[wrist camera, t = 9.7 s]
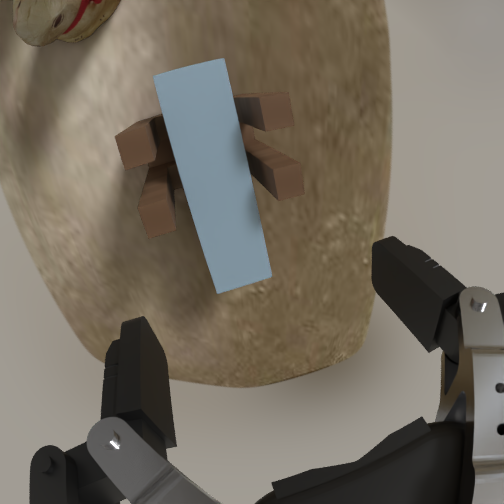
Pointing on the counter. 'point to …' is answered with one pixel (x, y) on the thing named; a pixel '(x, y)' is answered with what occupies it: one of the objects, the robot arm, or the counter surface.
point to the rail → (214, 171)
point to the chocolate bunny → (59, 19)
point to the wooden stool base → (166, 171)
